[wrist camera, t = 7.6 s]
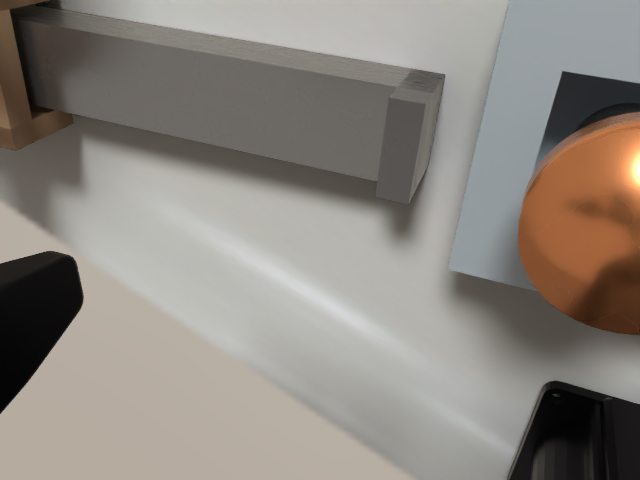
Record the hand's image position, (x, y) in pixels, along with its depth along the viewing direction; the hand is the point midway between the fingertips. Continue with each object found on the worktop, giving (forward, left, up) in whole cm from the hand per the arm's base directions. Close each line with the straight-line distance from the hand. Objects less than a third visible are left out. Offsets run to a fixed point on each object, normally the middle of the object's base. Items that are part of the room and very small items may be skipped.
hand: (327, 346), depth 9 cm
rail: (-1, +11, -12) cm, 16 cm away
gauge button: (0, -5, -9) cm, 10 cm away
